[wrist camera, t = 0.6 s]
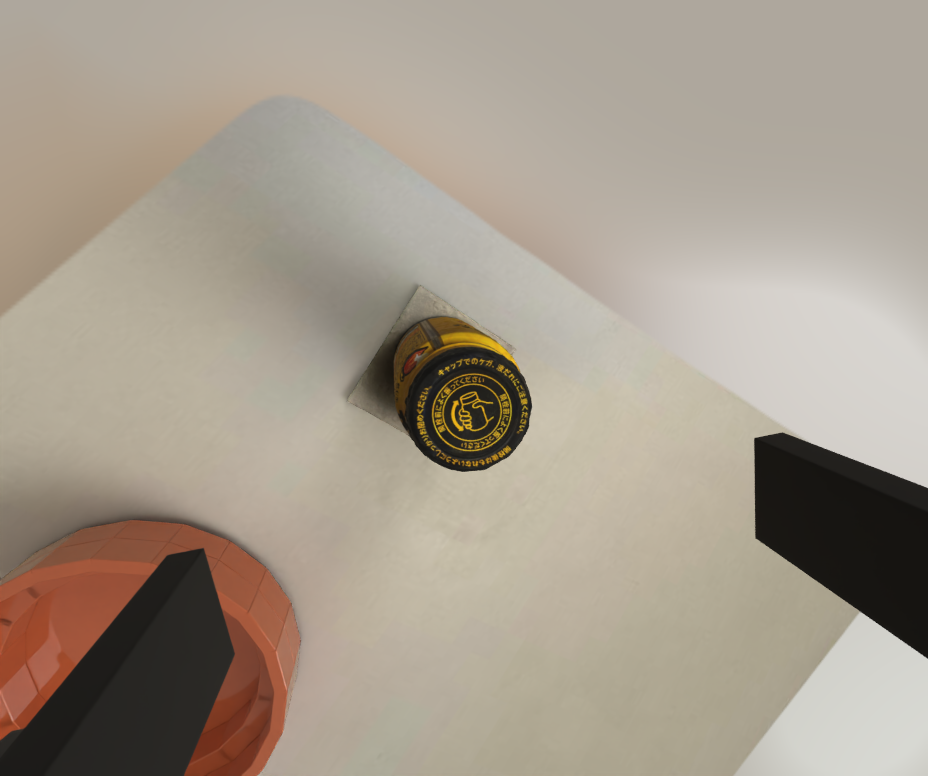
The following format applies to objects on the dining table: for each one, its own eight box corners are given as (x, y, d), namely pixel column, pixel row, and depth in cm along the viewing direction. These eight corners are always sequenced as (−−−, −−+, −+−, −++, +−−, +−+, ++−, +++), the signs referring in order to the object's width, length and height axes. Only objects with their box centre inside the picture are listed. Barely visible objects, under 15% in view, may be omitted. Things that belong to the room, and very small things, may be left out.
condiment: (515, 348, 32) (585, 388, 20) (443, 455, 33) (471, 553, 21) (419, 284, 30) (436, 289, 19) (347, 399, 31) (319, 472, 19)
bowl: (-52, 549, 30) (-138, 602, 25) (265, 490, 32) (242, 528, 27) (53, 788, 34) (-3, 873, 29) (326, 723, 36) (315, 792, 31)
